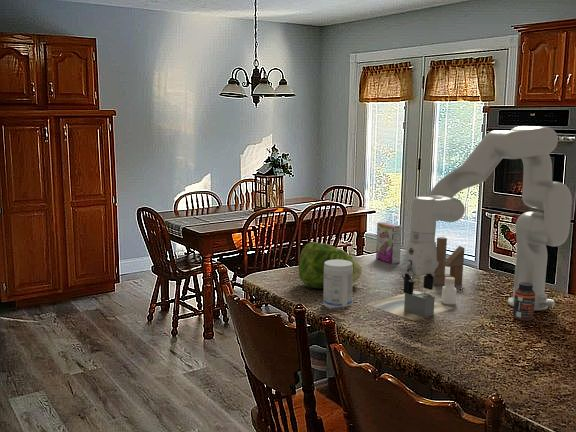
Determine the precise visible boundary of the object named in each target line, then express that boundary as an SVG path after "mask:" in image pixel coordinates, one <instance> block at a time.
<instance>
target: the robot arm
mask: <svg viewBox="0 0 576 432" xmlns="http://www.w3.org/2000/svg"><path fill="white" fill-rule="evenodd" d="M558 142H559V138H558V134H557V132H556V131H555V130H554V129H553V128H552V127H548V126H534V125H533V126H532V125H531V126H529V125H521V126H515V127H513V128H511V130H506V129H505V130H498V129H497V130H491V131H489V132H488V133H486V134H485V135H484V136H483V138H482V139H481V140H480V142H479V143H478V144H477V146H476V147H475V148H474V149H473V150H472V152H471V153H470V155H469V156H468V157H467V158H466V160H465V161H464V162H463V163H462V165H460V166H459V167H457V168H455V169H454V170H452V171H451V172H450V173H448V174H446V175H445V176H444V177H443V178H442V179H440V180H439V181H438V182H437V183H436V184H435V186H434V187H433V188H432V189H431V191H430V192H429V193H428V195H427V196H415V197H414V198H413V199H412V204H411V217H410V229H409V242H408V245H407V249H406V250H407V251H406V256H405V263H404V265H402V266H401V267H400V272H401V277H402V280H403V294H405V293H407V294H410V295H412V294H413V290H414V284H415V281H414V279H415V277H416V276H417V277H420V276H423V285H422V287H423V289H426V290H430V291H432V290H433V289H434V284H433V277H435V272H436V271H437V267H438V264H439V262H438V261H437V250H436V247H437V241H436V231H437V230H436V229H437V221H438V222H447V223H455V222H458V221H459V220H461V219H462V218H463V217H464V214H465V213H466V212H465V211H466V209H465V205H464V203H462V201H461V200H459V199H458V198H455V195H457V194H458V193H460V192H461V191H463V190H465V189H468V188H470V187H471V188H472V187H474V186H478V185H479V184H482V183H484V182H485V181H487V179H488V178H489V177H490V176H491V174H492V172H493V171H494V170H495V169H496V168H497V166H498V165H499V164H500V162H501V161H502V160H503V159H508V160H518V159H521V161H522V164H523V165H522V166H523V177H522V192H521V195H522V196H521V198H522V199H521V200H522V202H523V203H524V205H525V206H527V207H529V208H532V209H537V210H542V211H543V212H539V211H538V212H537V211H526V212H523V213H522V214H520V215H519V216H518V218H517V219H516V222H515V225H514V226H515V236H516V237H515V238H516V255H515V256H516V257H515V267H514V280H513V292H512V296H511V297H509V298H508V299H507V304H508V305H510V306H511V307H513V308H514V297H515V291H516V289H518V288H519V283H520V282H527V283H531V284H533V289H532V290H533V291H534V292H535V304H534V311H538V312H539V311H545V310H547V309H548V308H550V307H551V308H554V307H555V306H556V303H555V300H554V299H549V298H548V294H547V293H545V290H546V288H545V287H546V277H547V266H548V248H547V246H550V247H559V246H561V245H563V244H565V243H566V241H567V239H568V237H569V234H570V230H571V219H572V218H571V216H572V207H573V206H572V204H573V202H572V201H573V198H572V192H571V191H570V189H569V187H568V186H567V185H566V184H565V183H563V182H560V181H553V164H552V159H551V155H550V153H552V152H553V151H555V149H556V147H558Z"/></svg>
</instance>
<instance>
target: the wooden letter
mask: <svg viewBox="0 0 576 432" xmlns="http://www.w3.org/2000/svg"><path fill="white" fill-rule="evenodd" d="M447 242H448V238H447V237H443V236H438V237H436V250H437V261H438V262H439V264H438V267H437V271H436V272H435V277H433V285H435V286H437V287H439V286H440V287H441V286H442V287H443V286H445V277H453V278H455V284H454V286H457V285H462V284H463V274H464V260H465V247H463V246H460V245H458V246H457V248H456V249H455V250H454V251H453V252H452V253H451V254H450V255H449V256H448V258H446V257H447V245H448V243H447ZM446 268H449V273H446Z"/></svg>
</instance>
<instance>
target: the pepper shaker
mask: <svg viewBox="0 0 576 432" xmlns="http://www.w3.org/2000/svg"><path fill="white" fill-rule="evenodd" d="M454 284H455V278H453V277H445V285H442V287H441V299H440V302H442V303H443V305H456V304H457V303H456V302H457V288H456V287H455V285H454Z"/></svg>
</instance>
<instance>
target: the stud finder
mask: <svg viewBox="0 0 576 432" xmlns="http://www.w3.org/2000/svg"><path fill="white" fill-rule="evenodd" d="M404 294H405V302H404V311H406V312H409V313H412V314H415V315H418V316H421V317H424V318H423V319H426V318H429V317H432V316H435V315H434V302H435V301H436V300H435V298H436V296H435V295H432V294H428V293H425V292H421V291H418V290H414V289H413V294H412V295H410V294H407V293H404Z"/></svg>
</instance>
